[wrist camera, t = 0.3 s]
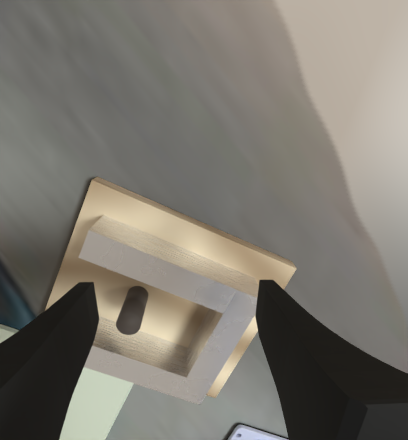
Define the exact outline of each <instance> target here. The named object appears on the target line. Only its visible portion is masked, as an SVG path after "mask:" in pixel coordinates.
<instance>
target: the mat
mask: <svg viewBox="0 0 408 440" xmlns="http://www.w3.org/2000/svg"><path fill="white" fill-rule="evenodd" d="M18 331H19V330H17V329H14V328H11V327H8V326H5V325H2V324H0V343H1V342H3V341H4V340H6V339H7V338H9V337H11V336H12V335H13V334H15V333H16V332H18ZM133 384H134V383H131V382H128V381H125V380H122V379H119V378H116V377H113V376H110V375H107V374H104V373H101V372H98V371H95V370H92V369H88V368H85V367H84V368H83V370H82V373H81V375H80V378H79V380H78V383H77V385H76V388H75V390H74V393H73V395H72V398H71V401H70V404H69V407H68V411H67V414H66V418H65V421H64V424H63V428H62V431H61V435H60V439H59V440H105V439H106V437H107V435H108V433H109V431H110V429H111V427H112V425H113V423H114V421H115V419H116V417H117V415H118V413H119V411H120V409H121V407H122V405H123V403H124V401H125V399H126V398H127V396H128V394H129V392H130V390H131V388H132V386H133Z"/></svg>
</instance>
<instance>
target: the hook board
mask: <svg viewBox="0 0 408 440" xmlns="http://www.w3.org/2000/svg"><path fill="white" fill-rule="evenodd" d="M103 215H105V216H107V217H110V218H112V219H114V220H117V221H119V222H122V223H124V224H126V225H129V226H131V227H134V228H136V229H138V230H141V231H143V232H146V233H148V234H151V235H153V236H155V237H158V238H160V239H163V240H165V241H167V242H170V243H172V244H175V245H177V246H179V247H182V248H184V249H187V250H189V251H191V252H194V253H196V254H199V255H201V256H203V257H206V258H208V259H211V260H213V261H215V262H218V263H220V264H223V265H225V266H227V267H230V268H232V269H235V270H237V271H239V272H242V273H244V274H247V275H249V276H251V277H254V278H255V279H256V282H257V284H258V287H259V280H274V281H275V282H276V283H277V284H278V285H279V286H280V287H281V288H282V289H283V290H284V288H285V286H286V285H287V283H288V282H289V280H290V278H291V277H292V275H293V274H294V272H295V270H296V269H297V268H296V267H295V266H294V264H293V263H292V261H290V260H287V259H285V258H283V257H280V256H278V255H276V254H273V253H271V252H269V251H267V250H264V249H262V248H260V247H257V246H255V245H253V244H251V243H248V242H246V241H244V240H241V239H239V238H237V237H234V236H232V235H230V234H228V233H225V232H223V231H221V230H218V229H216V228H214V227H212V226H209V225H207V224H205V223H202V222H200V221H198V220H196V219H193V218H191V217H189V216H186V215H184V214H182V213H179V212H177V211H175V210H173V209H170V208H168V207H166V206H163V205H161V204H159V203H157V202H154V201H152V200H150V199H147V198H145V197H143V196H140V195H138V194H136V193H134V192H131V191H129V190H127V189H124V188H122V187H120V186H118V185H115V184H113V183H111V182H108V181H106V180H104V179H102V178H99V177H96V178H94V179H92V181H91V183H90V186H89V189H88V192H87V195H86V197H85V200H84V203H83V206H82V209H81V211H80V214H79V217H78V220H77V222H76V225H75V228H74V231H73V234H72V236H71V239H70V242H69V245H68V247H67V250H66V253H65V256H64V259H63V261H62V264H61V267H60V270H59V273H58V275H57V278H56V281H55V284H54V286H53V289H52V292H51V295H50V298H49V300H48V303H47V306H46V309H45V311H46V310H47V309H48V308H49V307H50V306H52V305H53V304H54V303H55V302H56V301H58V300H59V299H60V298H61V297H62V296H63V295H65V294H66V293H67V292H68V291H69V290H70V289H72V288H73V287H74V286H75V285H76V284H78V283H79V282H94V287H95V294H96V300H97V307H98V314H99V316H100V317H103V318H106V319H108V320H111V321H114V322H116V327H117V329H118V331H119V332H121V333H122V334H125V335H133V334H135V333H137V332H138V331H142V332H145V333H148V334H150V335H153V336H156V337H159V338H162V339H164V340H167V341H170V342H173V343H176V344H178V345H181V346H184V347H187V348H188V346H189V344H190V342H191V341H192V339H193V337H194V335H195V333H196V332H197V330H198V328H199V326H200V324H201V323H202V321H203V319H204V317H205V315H206V313H207V312H208V310H209V308H207V307H205V306H202V305H200V304H197V303H194V302H192V301H189V300H187V299H184V298H182V297H179V296H176V295H174V294H171V293H169V292H166V291H163V290H161V289H158V288H156V287H153V286H150V285H148V284H145V283H143V282H140V281H138V280H135V279H132V278H130V277H127V276H125V275H122V274H119V273H117V272H114V271H112V270H109V269H106V268H104V267H101V266H99V265H96V264H94V263H91V262H88V261H86V260H83V259H81V258H78V257H79V255H80V252H81V249H82V247H83V244H84V241H85V239H86V236H87V233H88V231H89V229H90V228H91V227H92V226H93V225H94V224H95V223H96V222H97V221H98V220H99V219H100V218H101V217H102V216H103ZM257 331H258V328H257V323H256V318H255V316H254V317H253V319H252V321H251V322H250V324H249V326H248V327H247V329H246V330H245V332H244V334H243V335H242V337H241V339H240V340H239V342H238V344H237V345H236V347H235V348H234V350H233V352H232V353H231V355H230V357H229V358H228V360H227V361H226V363H225V365H224V366H223V368H222V370H221V371H220V373H219V375H218V376H217V378H216V379H215V381H214V383H213V384H212V386H211V388H210V389H209V391H208V393H207V394H206V395H208V396H211V397H214V398H216V396H217V395H218V393H219V392H220V390H221V388H222V387H223V385H224V384H225V382H226V380H227V379H228V377H229V376H230V374H231V372H232V371H233V369H234V368H235V366H236V364H237V363H238V361H239V360H240V358H241V357H242V355H243V353H244V352H245V350H246V349H247V347H248V345H249V344H250V342H251V341H252V339H253V337H254V336H255V334H256V333H257Z"/></svg>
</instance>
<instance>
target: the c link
mask: <svg viewBox="0 0 408 440" xmlns="http://www.w3.org/2000/svg"><path fill="white" fill-rule="evenodd" d="M78 258H81V259H83V260H86V261H88V262H91V263H94V264H96V265H99V266H101V267H104V268H106V269H109V270H112V271H114V272H117V273H119V274H122V275H125V276H127V277H130V278H132V279H135V280H138V281H140V282H143V283H145V284H148V285H150V286H153V287H156V288H158V289H161V290H163V291H166V292H169V293H171V294H174V295H176V296H179V297H182V298H184V299H187V300H189V301H192V302H194V303H197V304H200V305H202V306H205V307H207V308H209V310H208V312H207V313H206V315H205V317H204V319H203V321H202V323H201V324H200V326H199V328H198V330H197V332H196V333H195V335H194V337H193V339H192V341H191V342H190V344H189V346H188V348H187V347H184V346H181V345H178V344H176V343H173V342H170V341H167V340H164V339H162V338H159V337H156V336H153V335H150V334H148V333H145V332H142V331H138V332H137V333H135V334H133V335H125V334H122V333H121V332H119V331H118V329H117V327H116V322H114V321H111V320H108V319H106V318H103V317H100V316H99V323H98V327H97V331H96V335H95V339H94V342H93V345H92V348H91V350H90V353H89V355H88V358H87V360H86V363H85V365H84V367H85V368H88V369H92V370H95V371H98V372H101V373H104V374H107V375H110V376H113V377H116V378H119V379H122V380H125V381H128V382H131V383H134V384H137V385H141V386H144V387H147V388H150V389H153V390H156V391H159V392H162V393H165V394H168V395H171V396H174V397H177V398H180V399H183V400H187V401H190V402H193V403H196V404H199V405H200V404H201V402H202V401H203V399H204V397H205V396H206V394H207V393H208V391H209V389H210V388H211V386H212V384H213V383H214V381H215V379H216V378H217V376H218V375H219V373H220V371H221V370H222V368H223V366H224V365H225V363H226V361H227V360H228V358H229V357H230V355H231V353H232V352H233V350H234V348H235V347H236V345H237V344H238V342H239V340H240V339H241V337H242V335H243V334H244V332H245V330H246V329H247V327H248V326H249V324H250V322H251V321H252V319H253V317H254V316H255V314H256V305H257V297H258V288H259V287H258V284H257V282H256V279H255V278H254V277H251V276H249V275H247V274H244V273H242V272H239V271H237V270H235V269H232V268H230V267H227V266H225V265H223V264H220V263H218V262H215V261H213V260H211V259H208V258H206V257H203V256H201V255H199V254H196V253H194V252H191V251H189V250H187V249H184V248H182V247H179V246H177V245H175V244H172V243H170V242H167V241H165V240H163V239H160V238H158V237H155V236H153V235H151V234H148V233H146V232H143V231H141V230H138V229H136V228H134V227H131V226H129V225H126V224H124V223H122V222H119V221H117V220H114V219H112V218H110V217H107V216H105V215H103V216H102V217H101V218H100V219H99V220H98V221H97V222H96V223H95V224H94V225H93V226H92V227H91V228H90V229H89V231H88V233H87V236H86V239H85V241H84V244H83V247H82V249H81V252H80V255H79V257H78Z"/></svg>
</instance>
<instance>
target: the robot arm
mask: <svg viewBox="0 0 408 440" xmlns="http://www.w3.org/2000/svg"><path fill="white" fill-rule="evenodd" d="M255 318H256V323H257V328H258V333H259V337H260V340H261V343H262V346H263V349H264V352H265V355H266V358H267V361H268V364H269V367H270V370H271V373H272V376H273V379H274V381H275V384H276V388H277V391H278V394H279V398H280V402H281V407H282V411H283V415H284V419H285V424H286V428H287V433H288V437H289V440H408V374H407V373H405V372H403V371H400V370H398V369H396V368H394V367H392V366H390V365H388V364H386V363H384V362H382V361H380V360H378V359H376V358H374V357H373V356H371V355H369V354H367V353H365V352H364V351H362V350H360V349H359V348H357V347H355V346H354V345H352V344H350V343H349V342H347V341H346V340H344V339H343V338H341V337H340V336H338V335H337V334H335V333H334V332H332V331H331V330H330V329H328V328H327V327H326V326H324V325H323V324H322V323H320V322H319V321H318V320H317V319H315V318H314V317H313V316H312V315H310V314H309V313H308V312H307V311H306V310H305V309H304V308H302V307H301V306H300V305H299V304H298V303H297V302H296V301H295V300H294V299H293V298H292V297H291V296H290V295H288V294H287V293H286V292H285V291H284V290H283V289H282V288H281V287H280V286H279V285H278V284H277V283H276V282H275V281H274V280H259V288H258V297H257V305H256V314H255ZM98 323H99V314H98V307H97V300H96V294H95V287H94V282H79V283H78V284H76V285H75V286H74V287H73V288H72V289H70V290H69V291H68V292H67V293H66V294H65V295H63V296H62V297H61V298H60V299H59V300H58V301H56V302H55V303H54V304H53V305H52V306H50V307H49V308H48V309H47V310H46V311H44V312H43V313H42V314H40V315H39V316H38V317H37V318H35V319H34V320H33V321H31V322H30V323H29V324H27V325H26V326H25V327H23V328H22V329H21V330H19V331H18V332H16V333H15V334H13V335H12V336H11V337H9V338H7V339H6V340H4V341H3V342H1V343H0V440H59V439H60V435H61V431H62V428H63V424H64V421H65V418H66V414H67V411H68V407H69V404H70V401H71V398H72V395H73V393H74V390H75V388H76V385H77V383H78V380H79V378H80V375H81V373H82V370H83V368H84V365H85V363H86V360H87V358H88V355H89V353H90V350H91V348H92V345H93V342H94V339H95V335H96V331H97V327H98ZM228 440H288V439H285V438H282V437H279V436H276V435H273V434H269V433H266V432H263V431H260V430H257V429H254V428H251V427H248V426H245V425H238V426H237V427H236V428H235V429H234V431H233V432H232V434H231V435H230V437H229V438H228Z"/></svg>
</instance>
